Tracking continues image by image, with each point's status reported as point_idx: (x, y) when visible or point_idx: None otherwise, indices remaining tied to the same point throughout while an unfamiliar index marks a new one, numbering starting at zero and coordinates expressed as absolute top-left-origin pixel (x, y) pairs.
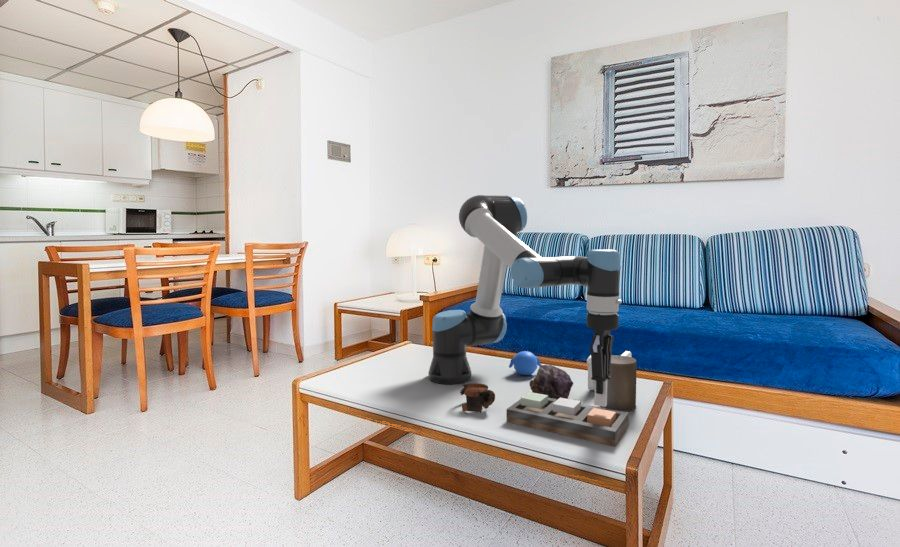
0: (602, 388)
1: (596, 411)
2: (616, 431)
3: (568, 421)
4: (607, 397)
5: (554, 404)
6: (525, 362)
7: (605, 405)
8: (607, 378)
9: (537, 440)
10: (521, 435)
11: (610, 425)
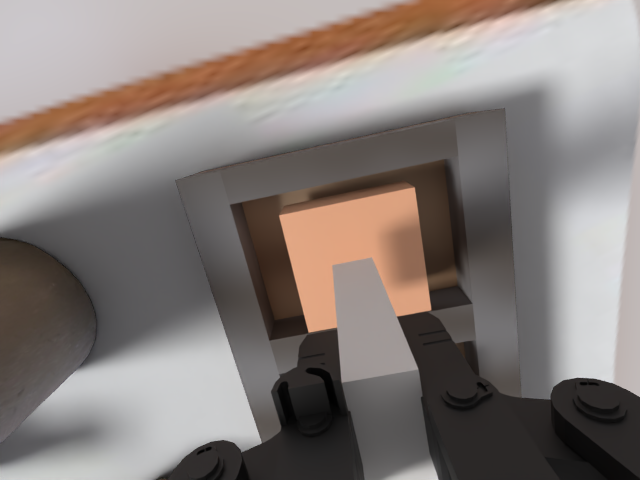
0: (425, 341)
1: None
2: (473, 114)
3: (513, 346)
4: (58, 363)
5: None
6: None
7: (369, 260)
8: (339, 395)
9: (595, 368)
10: None
11: (400, 183)
